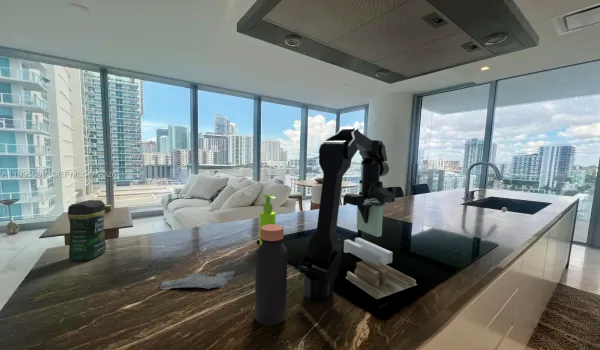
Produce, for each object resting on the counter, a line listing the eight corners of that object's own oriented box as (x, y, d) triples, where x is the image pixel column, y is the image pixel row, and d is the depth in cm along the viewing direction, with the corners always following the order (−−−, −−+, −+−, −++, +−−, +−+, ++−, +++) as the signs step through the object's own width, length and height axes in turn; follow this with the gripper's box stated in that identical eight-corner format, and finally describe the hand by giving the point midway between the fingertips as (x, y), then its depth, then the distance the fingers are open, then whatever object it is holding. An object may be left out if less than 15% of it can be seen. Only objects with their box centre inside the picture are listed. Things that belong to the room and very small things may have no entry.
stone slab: (235, 269, 74) (226, 285, 64) (235, 275, 74) (227, 292, 64) (174, 270, 74) (155, 286, 64) (174, 276, 74) (155, 293, 64)
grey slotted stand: (376, 269, 78) (376, 256, 78) (343, 251, 92) (344, 240, 92) (391, 265, 82) (392, 252, 82) (358, 248, 96) (358, 237, 95)
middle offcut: (382, 290, 64) (383, 272, 64) (361, 277, 71) (362, 260, 71) (386, 289, 65) (387, 271, 65) (365, 276, 72) (365, 259, 72)
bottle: (286, 307, 58) (288, 223, 56) (285, 327, 51) (287, 232, 50) (257, 306, 58) (258, 222, 56) (252, 327, 51) (253, 232, 49)
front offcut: (374, 292, 64) (375, 273, 63) (355, 279, 70) (356, 262, 69) (378, 290, 64) (379, 272, 64) (359, 278, 70) (360, 261, 70)
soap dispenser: (266, 251, 91) (267, 197, 90) (256, 245, 96) (257, 194, 95) (279, 247, 95) (280, 195, 93) (269, 242, 100) (270, 193, 99)
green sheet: (377, 236, 81) (378, 206, 80) (356, 228, 90) (357, 201, 89) (381, 236, 82) (383, 206, 81) (360, 227, 91) (361, 201, 90)
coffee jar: (91, 262, 78) (88, 204, 77) (63, 262, 78) (60, 203, 76) (111, 250, 88) (109, 198, 86) (87, 250, 87) (84, 198, 86)
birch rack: (376, 303, 61) (377, 293, 60) (344, 280, 71) (345, 272, 71) (417, 287, 68) (417, 279, 68) (383, 269, 79) (383, 262, 78)
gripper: (367, 181, 73) (364, 232, 74) (409, 179, 82) (406, 225, 83) (343, 177, 83) (341, 223, 84) (383, 176, 92) (380, 218, 93)
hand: (368, 222), depth 86 cm, fingers closed on green sheet, 2 cm apart
